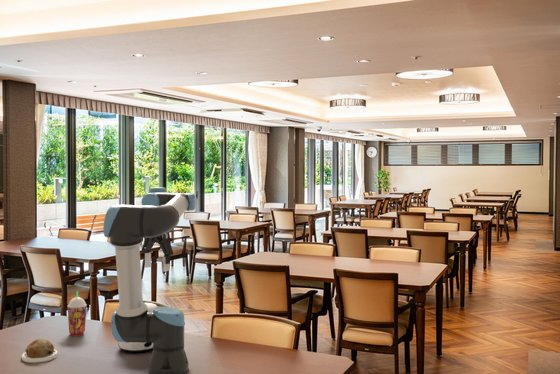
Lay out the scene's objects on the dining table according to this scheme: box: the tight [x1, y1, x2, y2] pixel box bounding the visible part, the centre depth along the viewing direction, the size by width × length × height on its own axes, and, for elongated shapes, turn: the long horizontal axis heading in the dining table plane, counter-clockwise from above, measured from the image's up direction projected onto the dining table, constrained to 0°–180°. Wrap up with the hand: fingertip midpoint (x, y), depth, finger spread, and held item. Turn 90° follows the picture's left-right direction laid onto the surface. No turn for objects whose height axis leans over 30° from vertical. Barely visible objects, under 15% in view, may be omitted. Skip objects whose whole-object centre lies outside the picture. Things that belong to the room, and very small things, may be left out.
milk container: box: [117, 302, 158, 353], centre depth 237 cm, size 17×17×18 cm
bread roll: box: [24, 338, 55, 358], centre depth 224 cm, size 10×10×8 cm
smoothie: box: [67, 290, 88, 337], centre depth 256 cm, size 8×8×20 cm
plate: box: [21, 348, 58, 364], centre depth 224 cm, size 13×13×2 cm
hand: (156, 269), depth 250 cm, fingers open, 13 cm apart
